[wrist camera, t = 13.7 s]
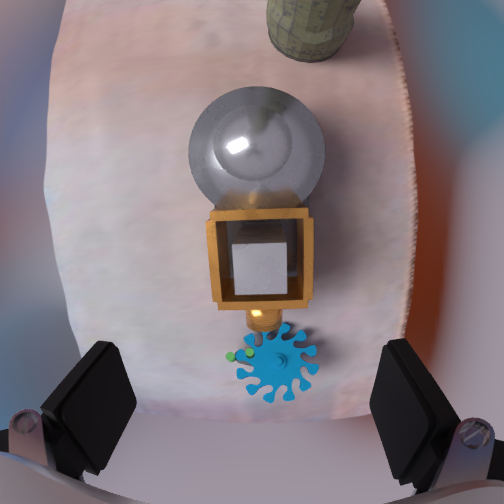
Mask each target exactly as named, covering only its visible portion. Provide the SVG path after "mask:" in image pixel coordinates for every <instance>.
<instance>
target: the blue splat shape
mask: <svg viewBox="0 0 504 504" xmlns="http://www.w3.org/2000/svg"><path fill="white" fill-rule="evenodd" d="M289 330H290V326H289V325H287V324H285V323H282V326H281V327H280V328H279V333H278V335H277V336H276V338H275V339H274V340H271V341H270V340H268V339H267V335H268V334H269V333H270V332H271V331H270V332H261V333H262V335H263V343H262V345H261V346H260V347H256V346H255V345H254V342H255V336H254V335H253V334H252V333H251V334H248V335H247V336H245V337H244V341H245V343H246V344H248V345H250V346H251V347H252V348H248V349H246V351H244V350H242V349H239V350H238V351H237V352H236V353H235V355H234V353H232V352H229V353H227V354H226V358H227V360H228V361H229V362H234V361H235V360H236V361H237V362H238V363H241V364H245V365H249V366H253V367H254V370H253V372H251V373H248V372H246V371H245V370H244V369H243V368H238V369H237V378H238V379H244V378H246V377H251V376H252V377H258V378H259V379H260V380H261V382H260V384H259V385H253V384H249V385H247V386H246V389H247V391H248V393H249V394H250V395H254V394H255V393H256V392H257V390H258V389H259V388H261V387H263V386H265V385H271V386H272V387H273V391H272V392H270V393H267V394H265V395H264V397H263V399H264V400H265V401H267V402H269V403H273V401H274V396H275V393H276V391H277V389H278V388H279V387H280V386H281V385H286V386H287V388H288V390H287V392H286V393H285V394H284V395H283V400H284V401H291V400H294V399H295V396H294V394H293V392H292V387H291V386H292V381H293V379H294V378H298V379H299V380H300V386H299V387H300V390H301V391H306V390H307V389H309V388H310V387H311V383H310V382H308V381H307V380H305V379H304V378H303V376H302V375H301V372H300V368H301V367H302V366H305V367H306V368H307V369H308V372H309V374H311V375H315V374H316V373H317V371H318V369H319V365H317V364H310V363H307V362H305V361H304V360H302V359H301V357H300V354H301V353H306V354H307V355H308V356H310V357H313V356H315V355H316V352H317V350H316V346H315V345H311V346H309V347H307V348H296V347H294V345H293V342H295V341H299V342H303V341H305V340H306V338H307V336H306V334H305V333H304V331H303V330H300V331H298V332H297V334H296V336H295V337H293V338H292V339H290V340H287V341H283V340H282V339H281V336H282V335H283V334H286V333H288V332H289Z"/></svg>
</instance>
